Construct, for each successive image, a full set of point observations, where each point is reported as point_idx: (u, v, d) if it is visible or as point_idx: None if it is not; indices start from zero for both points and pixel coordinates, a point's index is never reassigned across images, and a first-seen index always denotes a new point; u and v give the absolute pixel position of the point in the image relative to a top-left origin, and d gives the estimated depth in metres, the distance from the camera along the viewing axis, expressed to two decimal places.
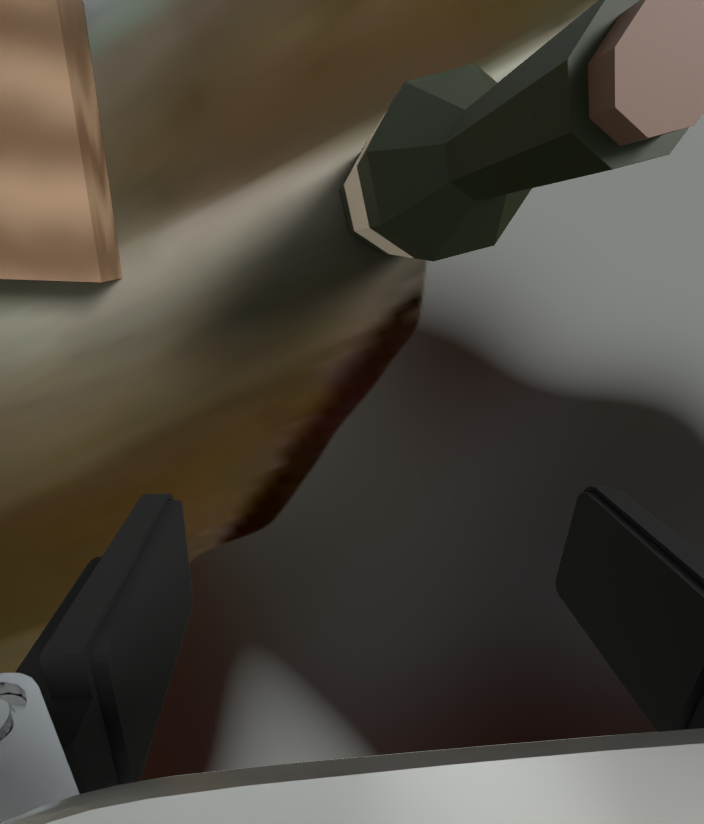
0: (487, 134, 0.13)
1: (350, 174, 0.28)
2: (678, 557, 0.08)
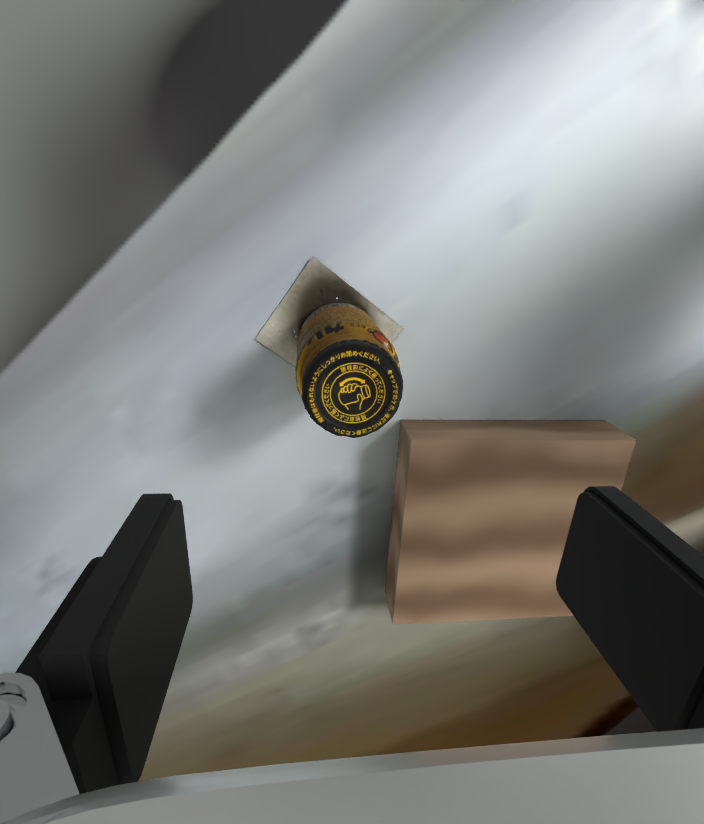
0: None
1: None
2: (678, 557, 0.08)
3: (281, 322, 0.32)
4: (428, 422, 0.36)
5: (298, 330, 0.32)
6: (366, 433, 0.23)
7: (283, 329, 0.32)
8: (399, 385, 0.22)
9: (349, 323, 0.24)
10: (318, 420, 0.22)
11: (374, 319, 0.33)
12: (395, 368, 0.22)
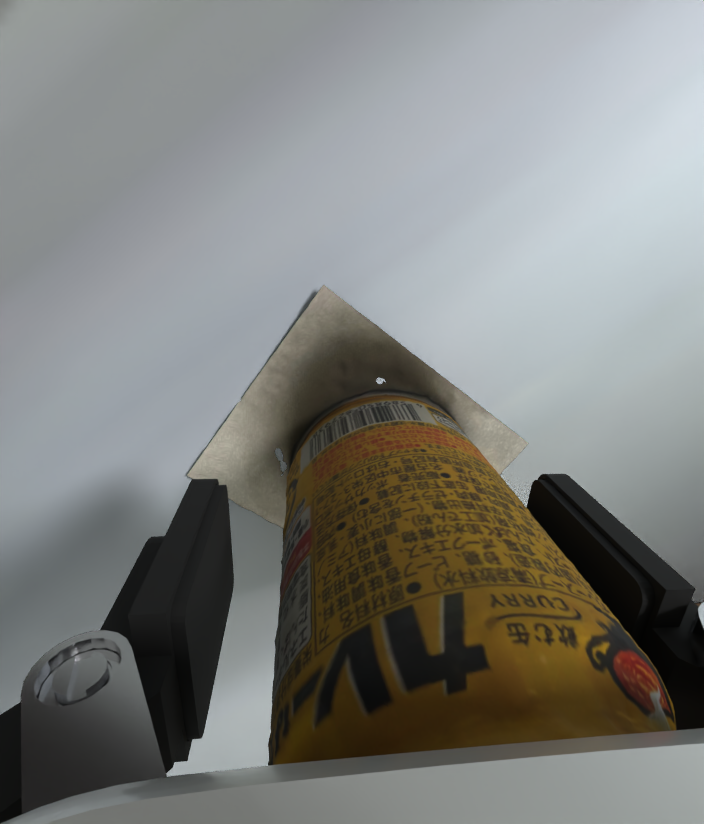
0: None
1: None
2: (613, 538, 0.08)
3: (248, 439, 0.13)
4: None
5: (289, 453, 0.14)
6: None
7: (253, 453, 0.14)
8: None
9: (506, 624, 0.05)
10: None
11: (464, 426, 0.14)
12: None
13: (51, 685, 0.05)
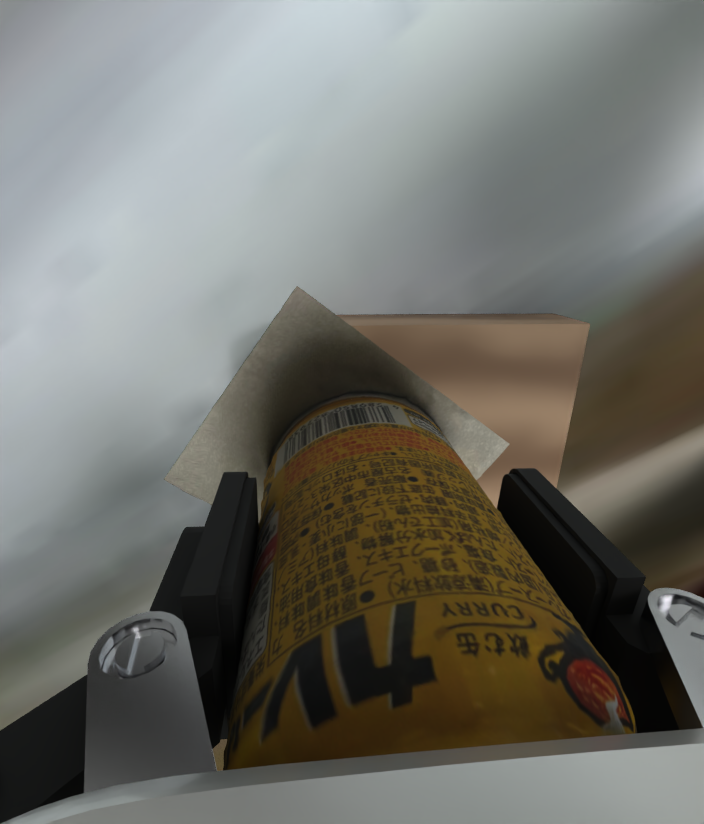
0: None
1: None
2: (573, 529, 0.08)
3: (224, 442, 0.13)
4: None
5: (267, 456, 0.14)
6: None
7: (231, 456, 0.14)
8: None
9: (456, 634, 0.05)
10: None
11: (444, 427, 0.14)
12: None
13: (113, 661, 0.06)
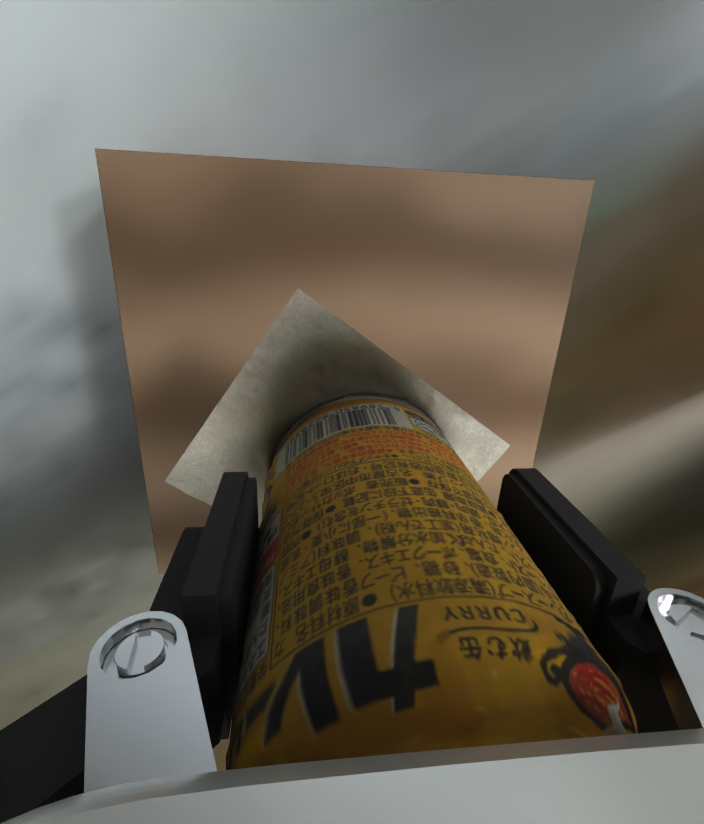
0: None
1: None
2: (573, 529, 0.08)
3: (225, 443, 0.13)
4: None
5: (268, 458, 0.14)
6: None
7: (232, 457, 0.14)
8: None
9: (458, 638, 0.05)
10: None
11: (445, 428, 0.14)
12: None
13: (113, 661, 0.06)
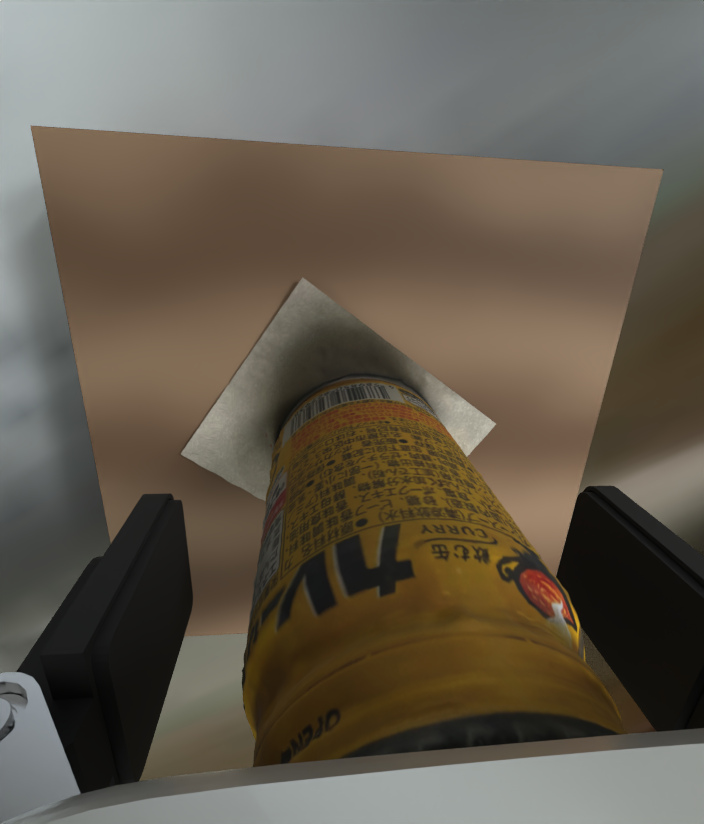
0: None
1: None
2: (677, 557, 0.08)
3: (236, 420, 0.15)
4: None
5: (274, 433, 0.15)
6: None
7: (241, 433, 0.15)
8: None
9: (431, 545, 0.06)
10: None
11: (436, 407, 0.15)
12: None
13: None
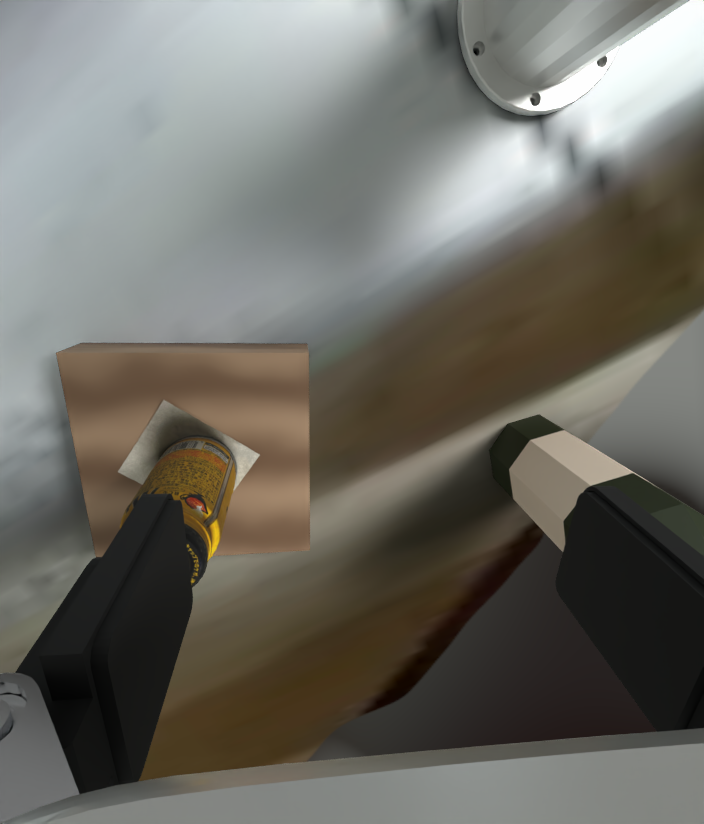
0: None
1: (532, 488, 0.36)
2: (678, 557, 0.08)
3: (141, 456, 0.34)
4: (108, 344, 0.35)
5: None
6: None
7: (144, 462, 0.35)
8: (199, 555, 0.25)
9: (163, 491, 0.26)
10: None
11: (231, 448, 0.35)
12: (193, 542, 0.24)
13: None
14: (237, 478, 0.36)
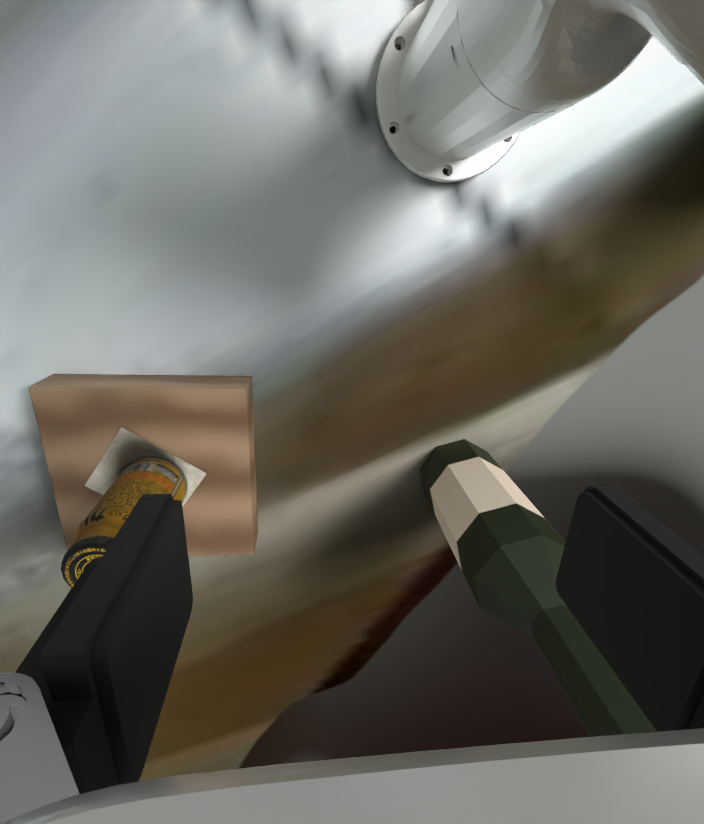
0: (564, 683, 0.26)
1: (442, 509, 0.41)
2: (678, 557, 0.08)
3: (104, 473, 0.40)
4: (76, 375, 0.40)
5: None
6: None
7: (107, 477, 0.40)
8: None
9: (109, 512, 0.32)
10: None
11: (181, 467, 0.41)
12: None
13: None
14: (188, 492, 0.42)
